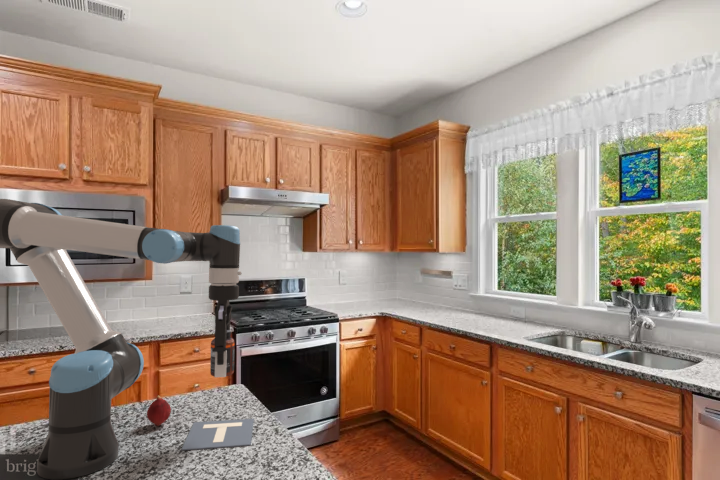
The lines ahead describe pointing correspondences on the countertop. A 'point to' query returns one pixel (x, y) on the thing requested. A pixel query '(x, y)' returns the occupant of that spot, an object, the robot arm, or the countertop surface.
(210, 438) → the letter card
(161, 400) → the onion
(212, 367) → the supplement bottle
